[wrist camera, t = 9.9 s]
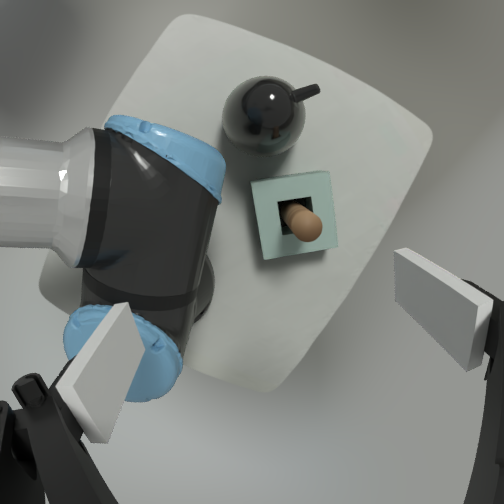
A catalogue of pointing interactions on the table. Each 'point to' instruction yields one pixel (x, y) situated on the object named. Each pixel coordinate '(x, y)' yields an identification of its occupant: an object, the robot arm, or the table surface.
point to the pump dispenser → (265, 115)
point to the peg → (301, 221)
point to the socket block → (285, 188)
